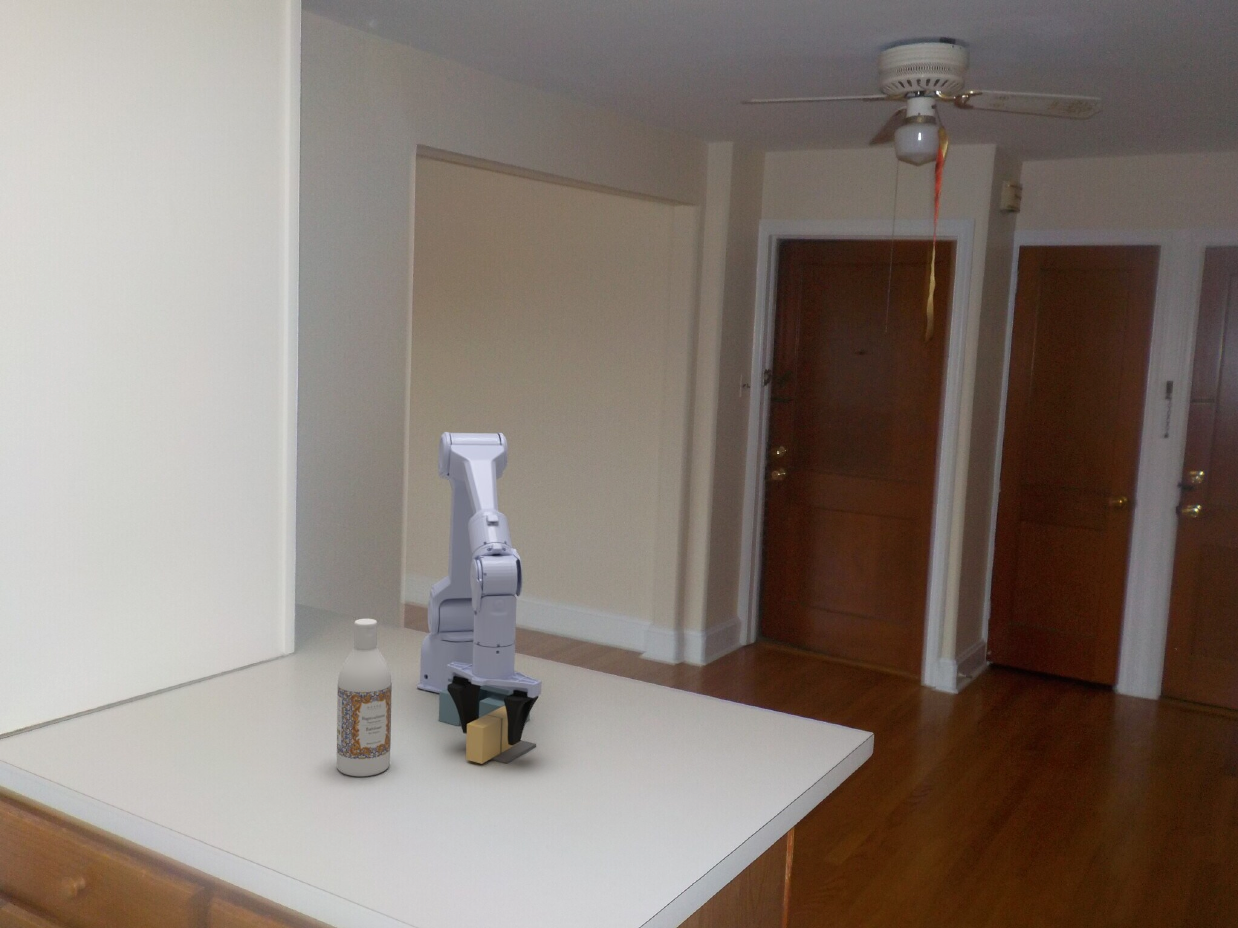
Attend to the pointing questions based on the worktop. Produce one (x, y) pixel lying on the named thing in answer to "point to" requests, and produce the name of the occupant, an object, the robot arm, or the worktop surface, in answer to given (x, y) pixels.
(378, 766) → the bath foam
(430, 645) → the robot arm
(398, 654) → the worktop surface
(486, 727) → the tan grooved block
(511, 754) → the pad
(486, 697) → the teal block stack
